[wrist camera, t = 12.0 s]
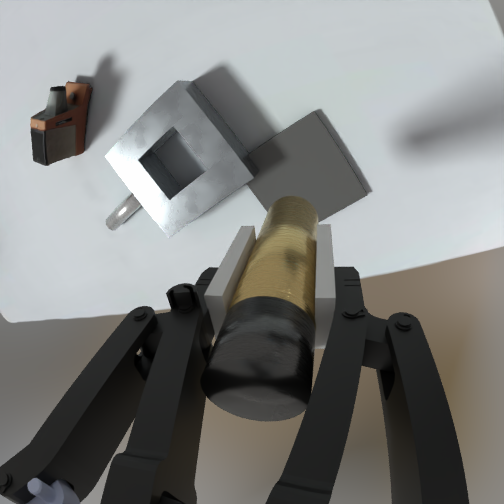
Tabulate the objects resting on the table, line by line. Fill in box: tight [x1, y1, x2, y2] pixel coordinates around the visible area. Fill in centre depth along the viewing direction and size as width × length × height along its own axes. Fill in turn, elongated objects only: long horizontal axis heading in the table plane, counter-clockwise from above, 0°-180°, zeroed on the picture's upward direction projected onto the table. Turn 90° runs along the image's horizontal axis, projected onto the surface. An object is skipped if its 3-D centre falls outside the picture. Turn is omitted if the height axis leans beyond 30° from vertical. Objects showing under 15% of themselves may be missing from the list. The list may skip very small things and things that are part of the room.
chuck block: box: [105, 81, 260, 238], centre depth 31 cm, size 20×12×4 cm, turn 127°
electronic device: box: [30, 81, 92, 166], centre depth 27 cm, size 4×10×8 cm, turn 163°
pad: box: [246, 111, 367, 223], centre depth 29 cm, size 10×10×1 cm
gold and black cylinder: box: [200, 196, 318, 421], centre depth 15 cm, size 4×4×14 cm
